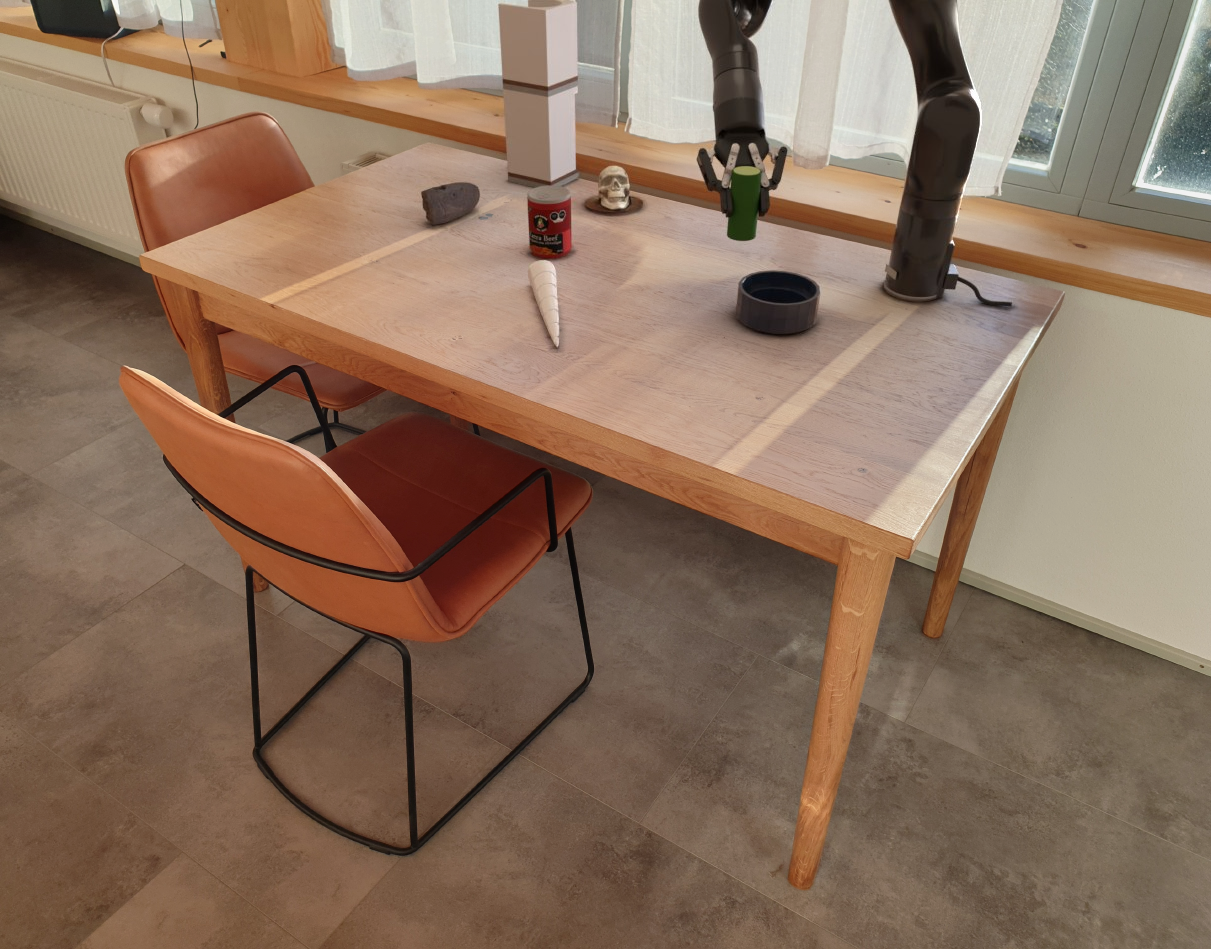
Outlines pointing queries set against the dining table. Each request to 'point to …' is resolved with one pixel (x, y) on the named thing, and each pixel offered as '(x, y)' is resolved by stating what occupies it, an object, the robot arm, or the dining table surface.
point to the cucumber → (744, 203)
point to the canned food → (549, 221)
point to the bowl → (777, 302)
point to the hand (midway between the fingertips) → (746, 214)
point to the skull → (613, 192)
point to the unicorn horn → (546, 294)
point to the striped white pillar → (540, 90)
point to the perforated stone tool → (449, 201)
